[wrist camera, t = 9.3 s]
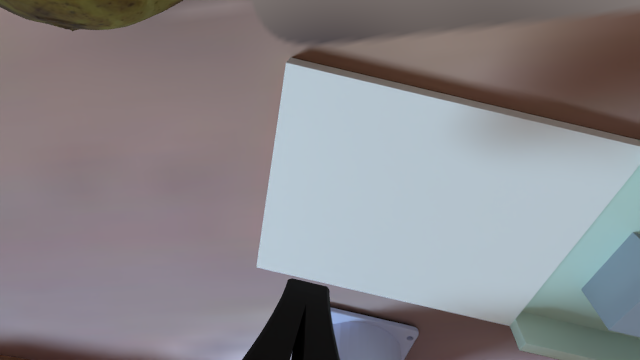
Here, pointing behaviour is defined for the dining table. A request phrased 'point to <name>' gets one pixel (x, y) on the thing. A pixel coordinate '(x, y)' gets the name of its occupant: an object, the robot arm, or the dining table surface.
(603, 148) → the board
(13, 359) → the wooden box
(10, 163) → the dining table surface
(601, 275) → the tile
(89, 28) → the avocado
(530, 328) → the tray
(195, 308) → the dining table surface
